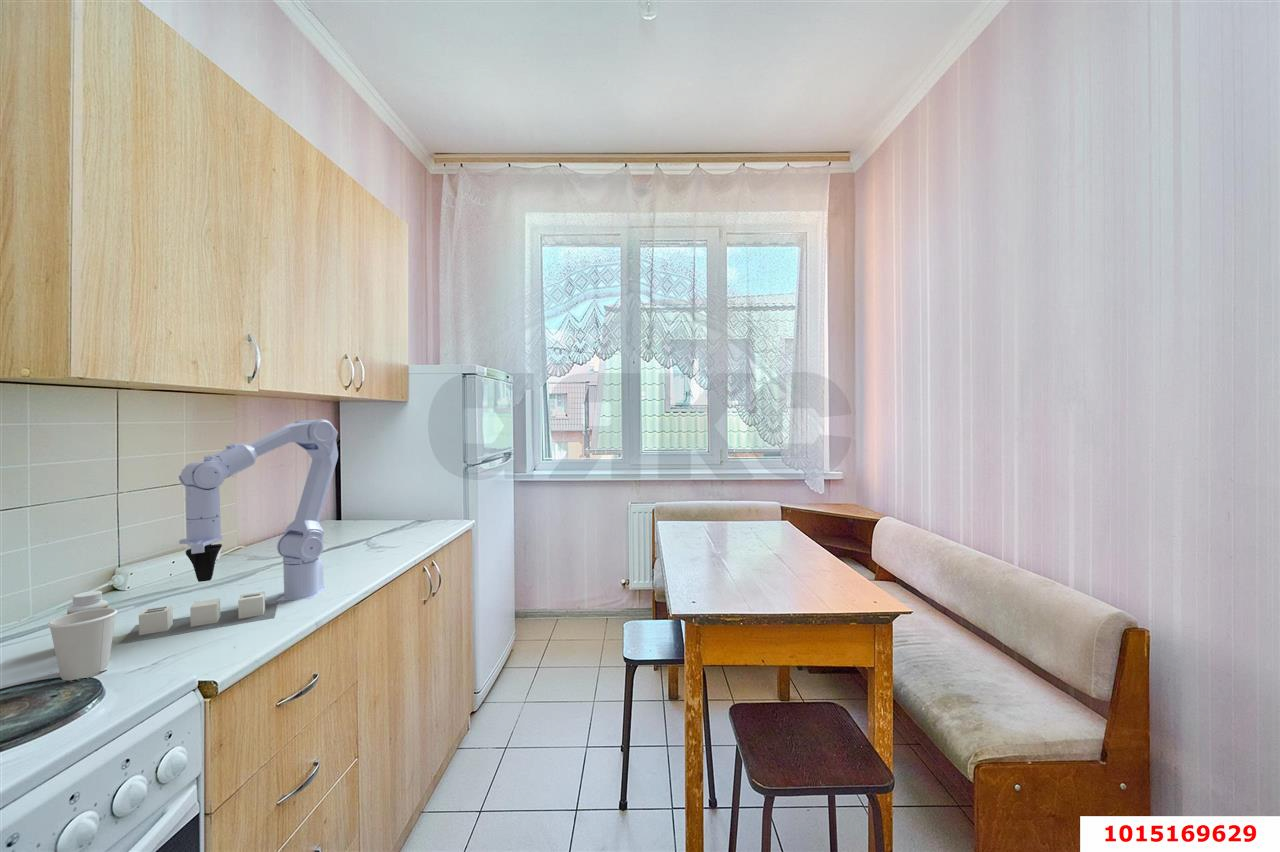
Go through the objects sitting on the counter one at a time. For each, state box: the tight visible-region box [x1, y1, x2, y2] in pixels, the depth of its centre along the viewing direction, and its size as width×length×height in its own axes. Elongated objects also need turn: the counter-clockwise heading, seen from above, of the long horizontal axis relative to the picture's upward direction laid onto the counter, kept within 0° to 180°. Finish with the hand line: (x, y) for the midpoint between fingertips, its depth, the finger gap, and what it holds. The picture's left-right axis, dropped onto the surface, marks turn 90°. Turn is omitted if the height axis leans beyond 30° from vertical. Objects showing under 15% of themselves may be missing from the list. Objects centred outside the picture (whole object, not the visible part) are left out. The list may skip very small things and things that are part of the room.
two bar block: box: [138, 604, 174, 635], centre depth 111 cm, size 4×4×4 cm
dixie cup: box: [47, 607, 118, 681], centre depth 92 cm, size 8×8×10 cm
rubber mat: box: [117, 602, 279, 645], centre depth 115 cm, size 25×12×1 cm, turn 121°
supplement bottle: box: [66, 590, 109, 615], centre depth 105 cm, size 6×6×10 cm
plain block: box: [189, 598, 221, 627], centre depth 115 cm, size 4×4×4 cm
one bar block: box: [237, 591, 266, 619], centre depth 119 cm, size 4×4×4 cm
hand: (205, 580), depth 115 cm, fingers closed
